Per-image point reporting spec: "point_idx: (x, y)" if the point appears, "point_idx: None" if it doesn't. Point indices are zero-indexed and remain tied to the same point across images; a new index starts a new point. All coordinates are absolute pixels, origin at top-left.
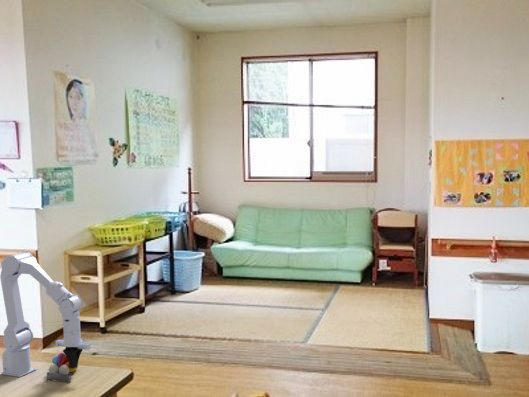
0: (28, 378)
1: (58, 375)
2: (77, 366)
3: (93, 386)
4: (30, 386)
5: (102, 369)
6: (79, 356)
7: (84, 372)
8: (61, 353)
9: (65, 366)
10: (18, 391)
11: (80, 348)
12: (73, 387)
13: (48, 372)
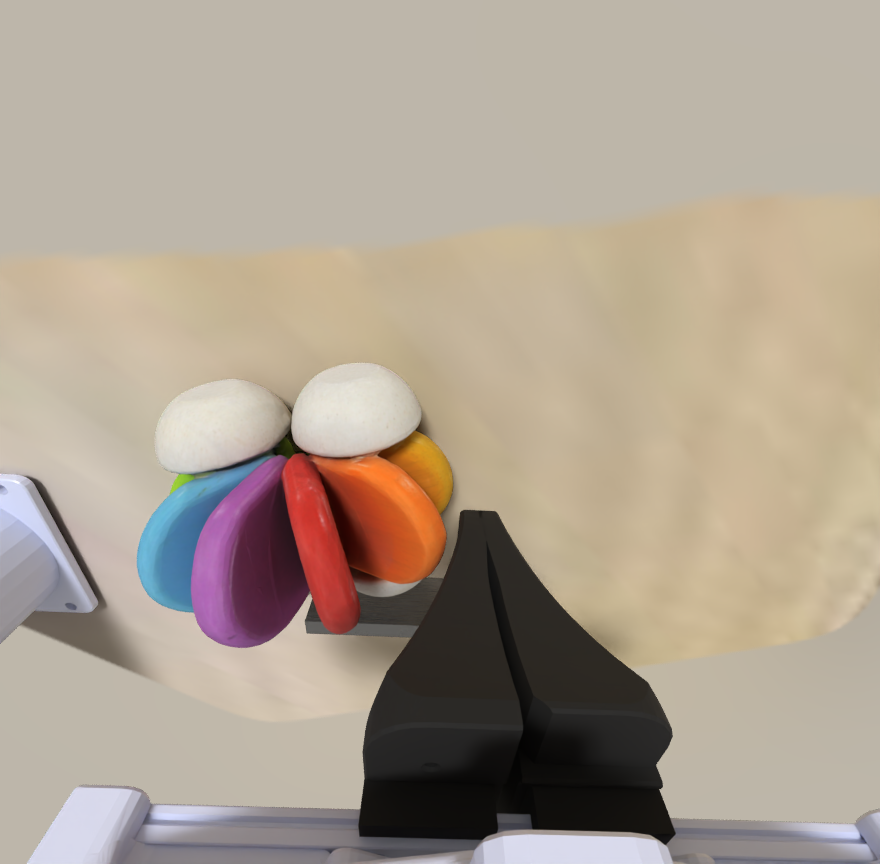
0: None
1: None
2: (420, 411)
3: (739, 592)
4: (320, 665)
5: (677, 275)
6: (549, 594)
7: (517, 404)
8: (234, 630)
9: (410, 586)
10: (319, 709)
11: (712, 844)
12: (602, 626)
13: (319, 629)
